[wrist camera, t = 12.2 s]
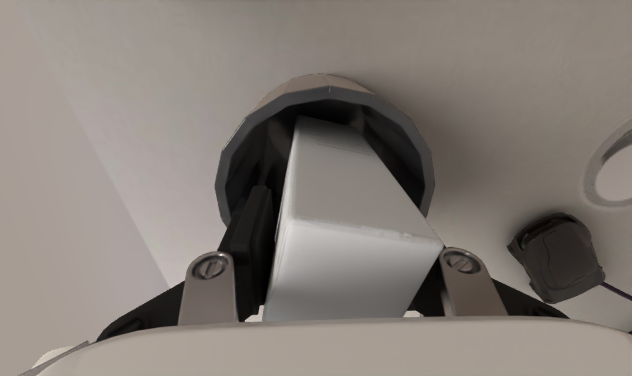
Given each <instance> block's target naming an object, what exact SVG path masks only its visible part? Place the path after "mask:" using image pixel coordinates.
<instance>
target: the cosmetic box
mask: <svg viewBox="0 0 632 376" xmlns="http://www.w3.org/2000/svg"><path fill="white" fill-rule="evenodd" d="M443 246H444V244H443V241H442V240H441V239H440V237H439V236H438V235H437V233H436V232H435V231H434V230H433V228H432V227H431V226H430V224H429V223H428V221H427V220H426V219H425V218H424V216H423V215H422V214H421V212H420V211H419V210H418V208H417V207H416V206H415V204H414V203H413V202H412V200H411V199H410V198H409V197H408V195H407V194H406V192H405V191H404V190H403V188H402V187H401V186H400V185H399V183H398V182H397V181H396V179H395V178H394V177H393V175H392V174H391V173H390V171H389V170H388V169H387V167H386V166H385V165H384V163H383V162H382V161H381V159H380V158H379V157H378V155H377V154H376V153H375V151H374V150H373V149H372V147H371V146H370V145H369V143H368V142H367V141H366V139H365V138H364V137H363V135H362V134H361V133H360V132H359V130H358V129H357V128H355V127H352V126H347V125H342V124H338V123H334V122H329V121H325V120H321V119H316V118H312V117H308V116H304V115H298V116H297V118H296V123H295V127H294V132H293V137H292V141H291V146H290V152H289V157H288V163H287V168H286V174H285V180H284V186H283V192H282V198H281V204H280V211H279V217H278V224H277V230H276V237H275V245H274V251H273V257H272V263H271V269H270V275H269V281H268V287H267V293H266V299H265V304H264V309H263V315H262V322H267V321H297V320H330V319H366V318H403V316H404V314H405V312H406V311H407V309H408V307H409V305H410V304H411V302H412V300H413V298H414V297H415V295H416V293H417V291H418V290H419V288H420V286H421V284H422V283H423V281H424V279H425V278H426V276H427V274H428V272H429V271H430V269H431V267H432V265H433V264H434V262H435V260H436V259H437V257H438V255H439V254H440V252H441V251H442V249H443Z"/></svg>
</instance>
